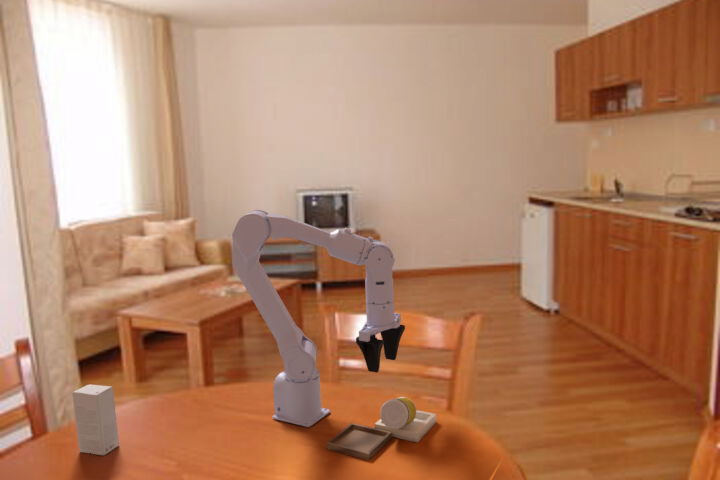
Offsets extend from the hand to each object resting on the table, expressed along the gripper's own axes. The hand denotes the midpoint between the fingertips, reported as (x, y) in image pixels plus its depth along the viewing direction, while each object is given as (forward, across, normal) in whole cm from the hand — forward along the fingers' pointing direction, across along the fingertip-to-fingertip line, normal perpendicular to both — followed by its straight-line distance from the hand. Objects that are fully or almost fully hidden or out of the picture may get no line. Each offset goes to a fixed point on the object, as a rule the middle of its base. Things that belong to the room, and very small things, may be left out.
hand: (382, 365), depth 117 cm
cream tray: (+10, -4, -7) cm, 13 cm away
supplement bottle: (+5, -11, -8) cm, 14 cm away
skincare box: (+11, -37, +42) cm, 57 cm away
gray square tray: (+10, -14, -2) cm, 17 cm away
